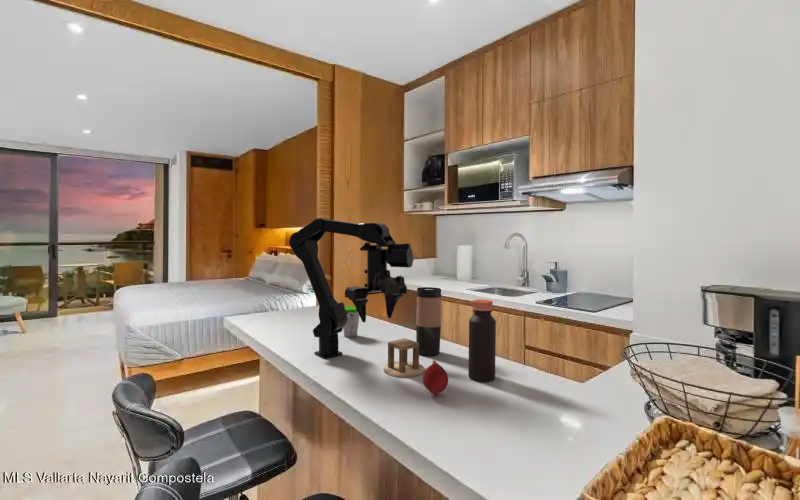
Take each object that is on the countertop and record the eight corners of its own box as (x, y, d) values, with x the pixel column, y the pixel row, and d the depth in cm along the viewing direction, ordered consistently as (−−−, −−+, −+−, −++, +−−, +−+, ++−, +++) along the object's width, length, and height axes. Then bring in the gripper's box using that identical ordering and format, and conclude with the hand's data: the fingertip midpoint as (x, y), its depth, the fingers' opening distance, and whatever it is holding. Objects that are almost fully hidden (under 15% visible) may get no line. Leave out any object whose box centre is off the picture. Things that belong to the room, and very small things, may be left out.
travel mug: (443, 351, 124) (444, 288, 124) (436, 357, 117) (437, 290, 117) (420, 348, 127) (421, 286, 127) (412, 354, 120) (413, 288, 120)
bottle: (497, 375, 103) (498, 299, 102) (492, 384, 97) (493, 304, 96) (472, 371, 106) (473, 298, 105) (465, 379, 100) (466, 302, 99)
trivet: (375, 369, 108) (375, 366, 107) (405, 360, 115) (405, 358, 115) (401, 380, 99) (401, 378, 99) (432, 371, 106) (432, 368, 106)
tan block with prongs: (387, 367, 107) (388, 341, 107) (404, 362, 111) (404, 338, 111) (402, 373, 103) (402, 346, 102) (418, 368, 106) (419, 342, 106)
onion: (450, 391, 92) (450, 358, 92) (444, 401, 87) (445, 366, 87) (426, 388, 94) (426, 355, 94) (419, 397, 89) (419, 363, 88)
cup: (336, 338, 139) (336, 296, 138) (343, 332, 146) (343, 292, 146) (358, 339, 137) (358, 296, 137) (363, 333, 145) (363, 293, 144)
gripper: (366, 270, 101) (366, 330, 102) (419, 266, 113) (419, 320, 114) (343, 267, 110) (343, 322, 110) (395, 264, 122) (395, 314, 122)
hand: (376, 319), depth 114 cm, fingers open, 9 cm apart
